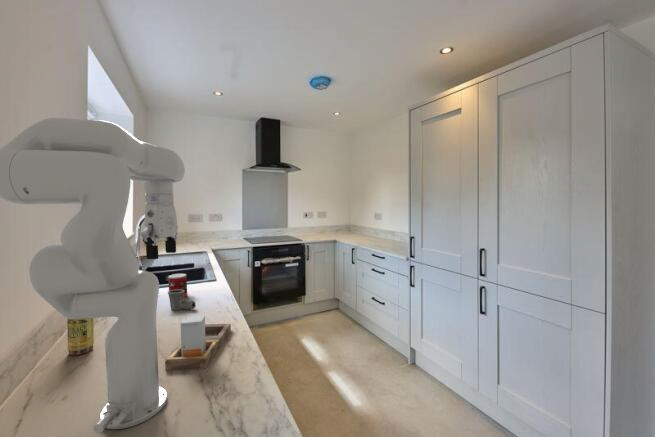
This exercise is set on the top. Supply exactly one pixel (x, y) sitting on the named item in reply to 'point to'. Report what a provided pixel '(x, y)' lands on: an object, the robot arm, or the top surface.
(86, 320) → the sauce bottle
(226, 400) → the top surface
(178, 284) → the canned food
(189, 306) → the pipe
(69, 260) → the robot arm
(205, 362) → the wooden flat frame
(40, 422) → the top surface
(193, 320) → the skincare box
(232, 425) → the top surface
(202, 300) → the top surface
